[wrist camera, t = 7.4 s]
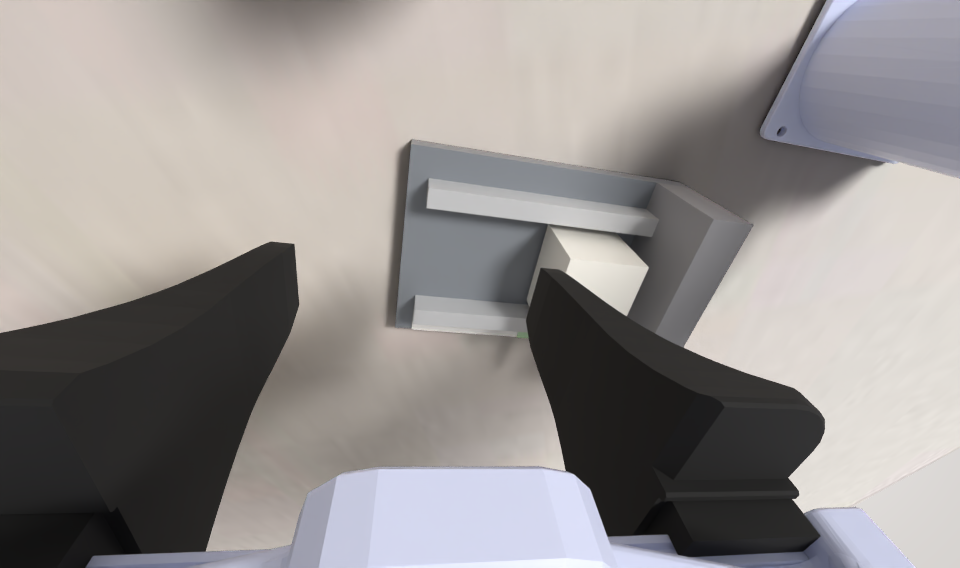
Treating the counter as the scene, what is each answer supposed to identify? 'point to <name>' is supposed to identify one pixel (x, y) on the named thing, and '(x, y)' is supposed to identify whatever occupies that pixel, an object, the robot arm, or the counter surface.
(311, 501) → the robot arm
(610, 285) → the block
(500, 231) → the board
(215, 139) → the counter surface
